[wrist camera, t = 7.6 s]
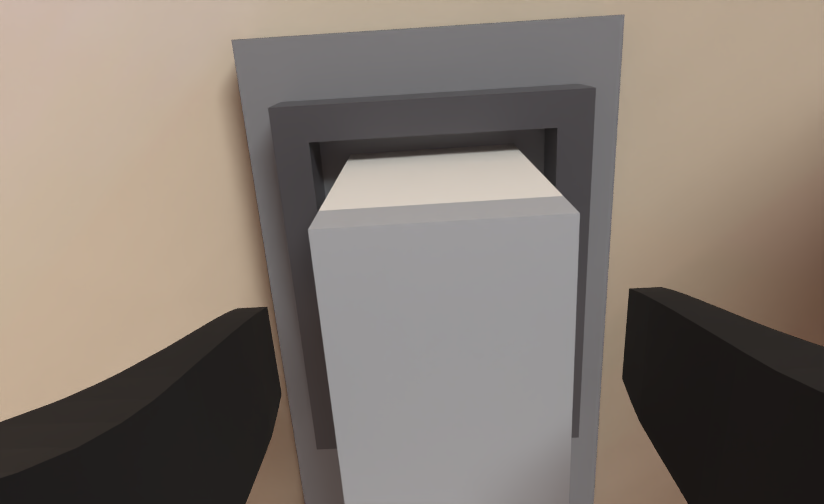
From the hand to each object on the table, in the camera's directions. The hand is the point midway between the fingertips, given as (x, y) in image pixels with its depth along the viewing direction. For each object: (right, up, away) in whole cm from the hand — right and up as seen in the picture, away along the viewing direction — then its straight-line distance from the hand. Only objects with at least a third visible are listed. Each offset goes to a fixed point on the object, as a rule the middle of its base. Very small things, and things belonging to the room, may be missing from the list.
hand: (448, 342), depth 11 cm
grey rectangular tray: (0, -2, +6) cm, 6 cm away
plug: (0, +2, +4) cm, 4 cm away
